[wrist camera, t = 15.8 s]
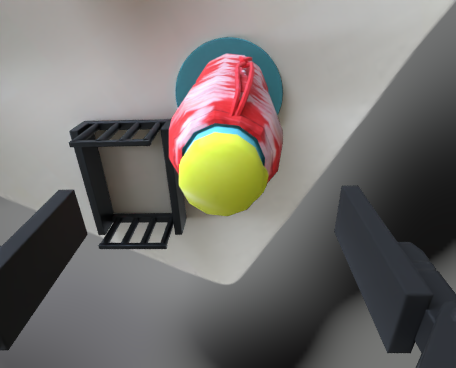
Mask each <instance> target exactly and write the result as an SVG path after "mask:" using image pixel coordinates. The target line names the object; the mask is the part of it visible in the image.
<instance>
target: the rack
mask: <svg viewBox="0 0 456 368" xmlns="http://www.w3.org/2000/svg"><path fill="white" fill-rule="evenodd" d="M170 123H171V119H164V120H118V121H84V122H82V123H81V124H79V125H78V126H76V127H75V128H73V129H72V130H70V131H69V132H70V135H71V139H72V141H70V142H69V145H70V147H74V149H75V153H76V157H77V160H78V164H79V167H80V171H81V174H82V178H83V181H84V185H85V188H86V192H87V195H88V199H89V202H90V206H91V210H92V213H93V217H94V220H95V224H96V227H97V231H98V234H99V235H105V234H106V233H107V231H108V230H109V231H108V233H107V234H106V236H105V237H104V239H103V241H102V242H101V243H100V244H99V249H167V243H168V240H169V237H170V234H171V231H172V228H173V225H174V229H175V235H182V233H183V229H184V226H185V222H186V210H185V201H184V193H183V192H182V190H181V188H180V186H179V174H178V173H177V171H176V169H175V168H174V166H173V164H172V162H171V161H170V159H169V127H170ZM141 129H151V130H150V131H149V132H148V133H147V135H146V136H145V137H144V139H131V138H132V137H133V136H134V135H135V134H136V133H137V132H138V130H141ZM160 129H161V136H162V143H163V150H164V157H165V164H166V172H167V179H168V186H169V193H170V200H171V207H172V213H141V214H114V212H113V208H112V204H111V200H110V196H109V192H108V188H107V184H106V180H105V176H104V172H103V168H102V163H101V159H100V155H99V151H98V147H108V146H150V145H151V142H152V140H153V139H154V138H155V136H156V135H157V133H158V132H159V131H160ZM98 130H107V131H106V132H104V133H103V134H102V135H101V136H100V137H99V138H98V139H95V135H94V133H96V132H97V131H98ZM119 130H128V131H127V132H126V133H125V134H124V135H123V136H122V137H121V138H120V139H119V140H109V139H110V138H111V137H112V136H113V135H114V134H115V133H116V132H117V131H119ZM131 222H132V223H131ZM139 222H149V224H148V227H147V229H146V231H145V233H144V236H143V238H142V240H141V242H140V243H129V241H130V239H131V237H132V235H133V233H134V231H135V229H136V227H137V225H138V223H139ZM156 222H168V223H167V226H166V228H165V231H164V234H163V237H162V240H161V243H148V241H149V238H150V236H151V234H152V231H153V229H154V226H155V224H156ZM112 223H113V224H112ZM120 223H131V225H130V227H129V229H128V231H127V232H126V234H125V236H124V238H123V240H122V242H121V243H109V242H110V241H111V239H112V237H113V235H114V234H115V232H116V230H117V228H118V227H119V225H120ZM111 225H112V226H111ZM110 226H111V228H110ZM109 228H110V229H109Z"/></svg>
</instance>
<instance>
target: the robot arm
mask: <svg viewBox="0 0 456 368" xmlns="http://www.w3.org/2000/svg"><path fill="white" fill-rule="evenodd" d="M334 232H335V235H336V237H337V239H338V242H339V244H340V246H341V248H342V251H343V253H344V255H345V257H346V260H347V262H348V264H349V266H350V269H351V271H352V273H353V276H354V278H355V280H356V282H357V285H358V287H359V289H360V291H361V294H362V296H363V299H364V301H365V303H366V305H367V307H368V310H369V312H370V314H371V316H372V319H373V321H374V323H375V326H376V328H377V330H378V332H379V335H380V337H381V339H382V342H383V344H384V346H385V348H386V351H387V353H411V351H412V349H413V346H414V343H415V342H416V344H417V346H418V347H419V349H420V351H421V353H422V354H421V357H420V359H419V361H418V363H417V366H416V368H456V294H455V292H454V291H453V290H452V288H451V287H450V286H449V285H448V283H447V282H446V281H445V279H444V278H443V277H442V276H441V274H440V273H439V272H438V271H436V268H435V267H434V265H433V264H432V263H430V260H429V259H428V258H427V256H426V255H425V254H424V252H423V251H422V250H421V249H419V248H418V247H416V246H415V245H414V244H412V243H411V242H397V241H396V240H395V238H394V237H393V235H392V234H391V233H390V231H389V230H388V228H387V227H386V225H385V224H384V223H383V221H382V220H381V218H380V217H379V215H378V214H377V212H376V211H375V209H374V208H373V207H372V205H371V204H370V202H369V201H368V200H367V198H366V197H365V195H364V194H363V192H362V191H361V189H360V188H359V186H342V187H341V194H340V200H339V206H338V213H337V219H336V225H335V231H334ZM86 236H87V231H86V227H85V224H84V221H83V217H82V214H81V211H80V208H79V204H78V201H77V198H76V195H75V191H74V190H58V191H57V192H56V193H55V194H54V195H53V196H52V197H51V198H50V199H49V200H48V201H47V202H46V203H45V204H44V205H43V206H42V207H41V208H40V209H39V210H38V211H37V212H36V213H35V214H34V215H33V216H32V217H31V218H30V219H29V220H28V221H27V222H26V223H25V224H24V225H23V226H22V227H21V228H20V229H19V230H18V231H17V232H16V233H15V234H14V235H13V236H12V237H11V238H10V239H9V240H8V241H7V242H5V244H3V245H2V246H0V350H9V349H10V347H11V346H12V344H13V343H14V341H15V340H16V338H17V337H18V335H19V334H20V332H21V331H22V330H23V328H24V326H25V325H26V324H27V322H28V321H29V319H30V317H31V316H32V315H33V313H34V312H35V311H36V309H37V308H38V306H39V305H40V303H41V302H42V300H43V299H44V297H45V296H46V294H47V293H48V291H49V290H50V288H51V287H52V286H53V284H54V283H55V281H56V280H57V278H58V277H59V275H60V274H61V272H62V271H63V270H64V268H65V267H66V265H67V264H68V262H69V261H70V259H71V258H72V256H73V255H74V253H75V252H76V250H77V249H78V248H79V246H80V245H81V243H82V242H83V240H84V239H85V237H86Z"/></svg>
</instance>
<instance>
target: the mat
mask: <svg viewBox="0 0 456 368" xmlns="http://www.w3.org/2000/svg"><path fill="white" fill-rule="evenodd" d="M226 53H227V54H236V55H245V56H246V57H252V60H251V61H252V62H254V63H255V64H256V65H257V66H259V67H260V69H261V71H262V74H263V77H264V79H265V82H266V84H267V87H268V93H269V95H270V98H271V100H272V103H273V105H274V108H275V111H276V113H277V116H278V114H279V111H280V108H281V104H282V97H283V87H282V81H281V77H280V74H279V71H278V69H277V67H276V65H275V64H274V62H273V60H272V59H271V58H270V57H269V55H268V54H267V53H266V52H265V51H264V50H262V49H261V48H260V47H258V46H257V45H255V44H253V43H251V42H249V41H246V40H243V39H239V38H230V37H226V38H219V39H215V40H211V41H209V42H207V43H205V44H203V45H201V46H200V47H198V48H197V49H196V50H194V51H193V52H192V53H191V54H190V55H189V56H188V58H187V59H186V60H185V62H184V63H183V65H182V67H181V69H180V71H179V74H178V77H177V82H176V102H177V106H178V108H179V106H180V105H181V103H182V102H183V100H184V99H185V97H186V95H187V94H188V92H189V91H190V89H191V88H192V86H193V85H194V84H196V80H197V79H198V77H199V76H200V74H201V73H202V71H203V70H204V68H205V67H206V65H207V64H208V63H209V62H210V61H212V60H214V59H216V58H218V57H220V56H222V55H224V54H226Z"/></svg>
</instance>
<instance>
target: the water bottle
mask: <svg viewBox="0 0 456 368" xmlns="http://www.w3.org/2000/svg"><path fill="white" fill-rule="evenodd" d="M251 60H252V57H246V56H245V55H236V54H227V53H226V54H224V55H222V56H220V57H218V58H216V59H214V60H212V61H210V62H209V63H208V64H207V65H206V67H205V68H204V70H203V71H202V73H201V74H200V76H199V77H198V79H197V80H196V84H194V85H193V86H192V88H191V89H190V91H189V92H188V94H187V95H186V97H185V99H184V100H183V102H182V103H181V105H180V106H179V108H178V109H177V111H176V112H175V114H174V115H173V117H172V119H171V123H170V127H169V159H170V161H171V162H172V164H173V166H174V168H175V169H176V171H177V173H178V174H179V186H180V188H181V190H182V192H183V193H184V195H185V197H186V198H187V200H188V202H189V203H190V204H191V205H193V206H195V207H196V208H198V209H200V210H201V211H203V212H205V213H206V214H211V215H221V216H230V215H233V214H235V213H238V212H241V211H244V210H247V209H248V208H249V207H250V206H251V204H252V203H253V202H254V201H255V200H257V199H258V198H259V197H260V196H261V194H262V193H263V192H264V190H265V188H266V186H267V183H268V182H269V181H270V179H271V178H272V177H273V176H274V175H275V174H276V172H277V171H278V167H279V162H280V156H281V150H282V144H283V130H282V127H281V124H280V121H279V118H278V116H277V113H276V111H275V108H274V105H273V103H272V100H271V98H270V95H269V93H268V87H267V84H266V82H265V79H264V77H263V74H262V71H261V69H260V67H259V66H257V65H256V64H255V63H254V62H252V61H251Z"/></svg>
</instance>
